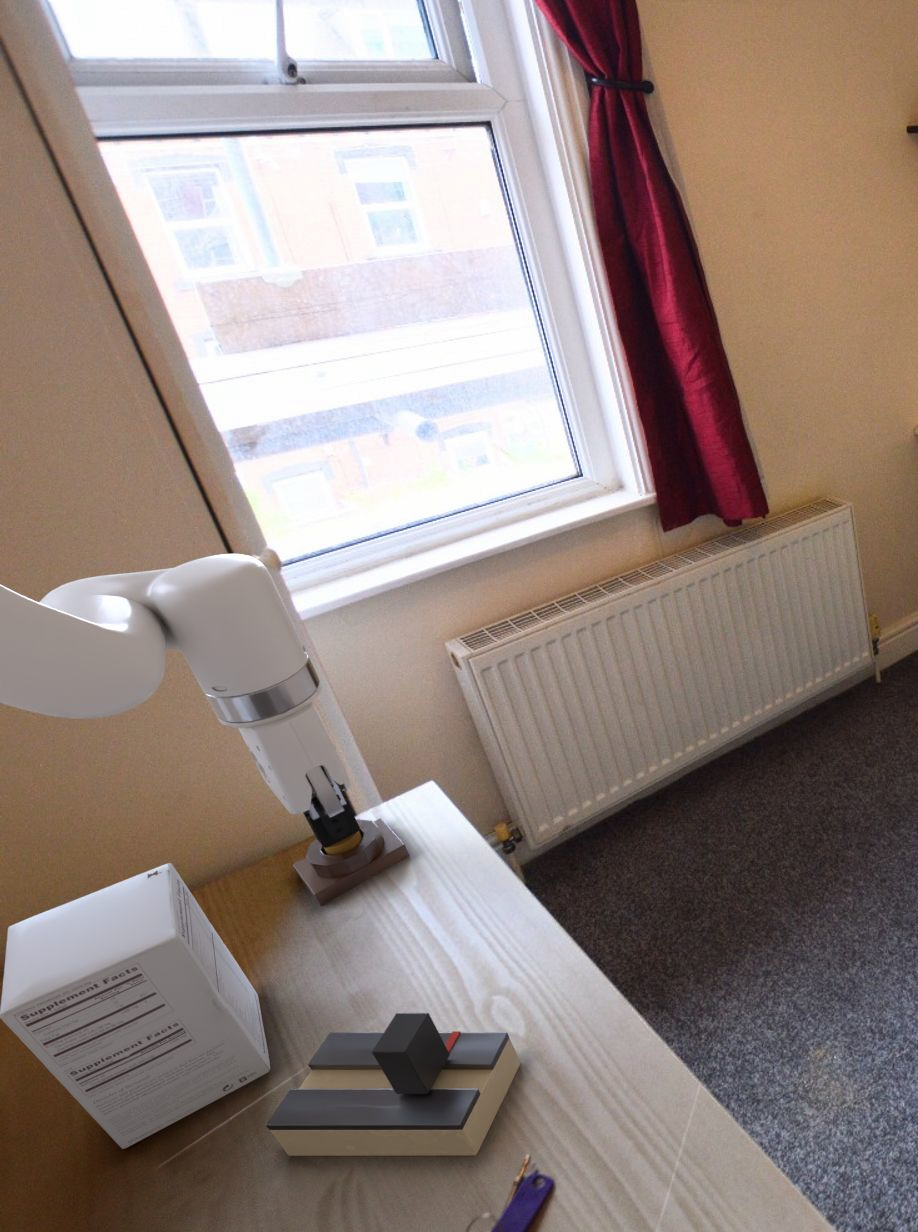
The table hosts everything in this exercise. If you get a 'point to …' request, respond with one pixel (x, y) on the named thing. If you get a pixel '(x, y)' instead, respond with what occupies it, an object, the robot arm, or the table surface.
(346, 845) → the button
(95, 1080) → the supplement box
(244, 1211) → the table surface
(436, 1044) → the slider
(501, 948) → the table surface
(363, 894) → the table surface
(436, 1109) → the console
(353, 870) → the button block
